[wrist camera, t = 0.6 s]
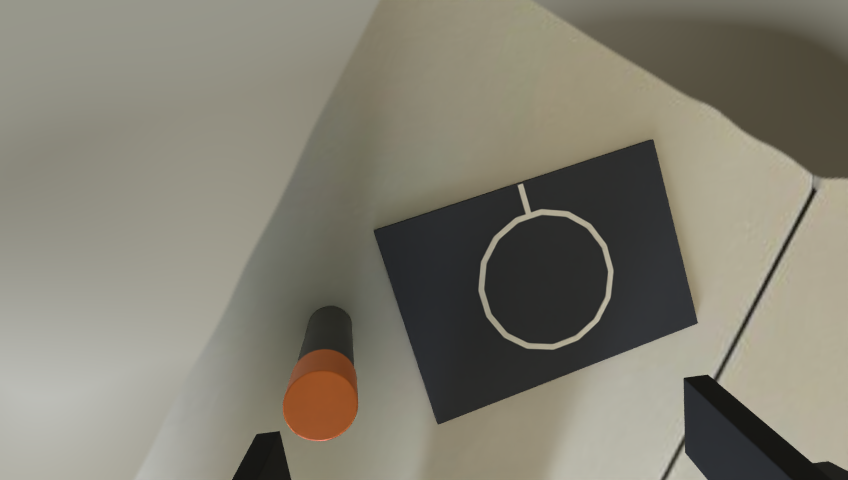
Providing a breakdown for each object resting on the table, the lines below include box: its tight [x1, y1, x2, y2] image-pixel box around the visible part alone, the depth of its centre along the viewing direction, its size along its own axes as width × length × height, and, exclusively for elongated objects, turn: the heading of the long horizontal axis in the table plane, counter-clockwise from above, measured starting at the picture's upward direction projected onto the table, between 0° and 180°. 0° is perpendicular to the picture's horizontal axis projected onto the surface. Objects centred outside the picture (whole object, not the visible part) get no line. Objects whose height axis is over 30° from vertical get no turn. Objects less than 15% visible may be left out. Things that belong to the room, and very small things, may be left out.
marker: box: [283, 306, 358, 441], centre depth 27 cm, size 3×3×13 cm
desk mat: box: [374, 139, 698, 424], centre depth 35 cm, size 15×22×1 cm
